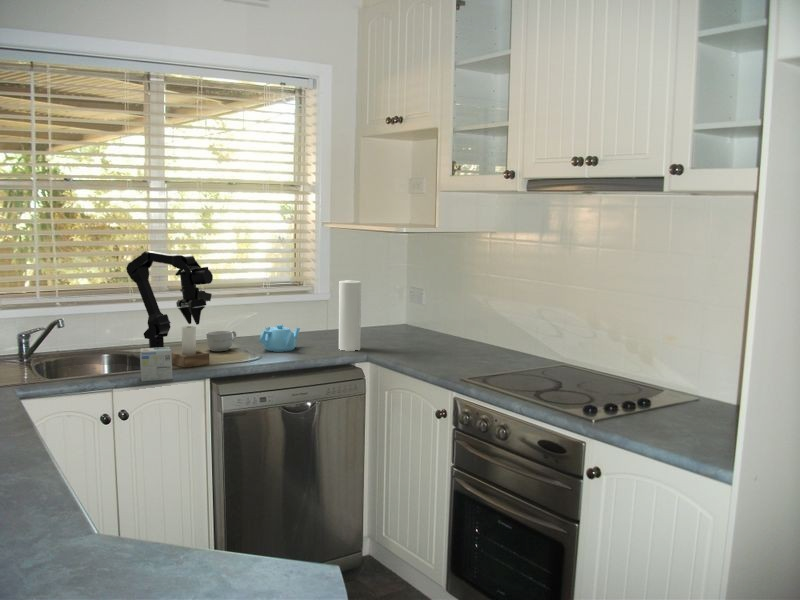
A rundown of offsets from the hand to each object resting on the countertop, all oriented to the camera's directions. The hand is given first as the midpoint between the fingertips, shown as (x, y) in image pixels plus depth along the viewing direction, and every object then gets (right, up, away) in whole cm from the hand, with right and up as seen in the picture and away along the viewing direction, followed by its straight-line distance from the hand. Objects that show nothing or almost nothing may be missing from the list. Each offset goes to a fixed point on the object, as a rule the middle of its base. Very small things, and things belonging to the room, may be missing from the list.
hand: (193, 324), depth 309 cm
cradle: (+1, -15, -11) cm, 19 cm away
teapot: (+32, -12, +21) cm, 40 cm away
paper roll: (+1, -14, -11) cm, 18 cm away
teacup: (+8, -12, +17) cm, 22 cm away
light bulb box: (-3, -18, -36) cm, 41 cm away
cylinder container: (+61, -12, +23) cm, 67 cm away
